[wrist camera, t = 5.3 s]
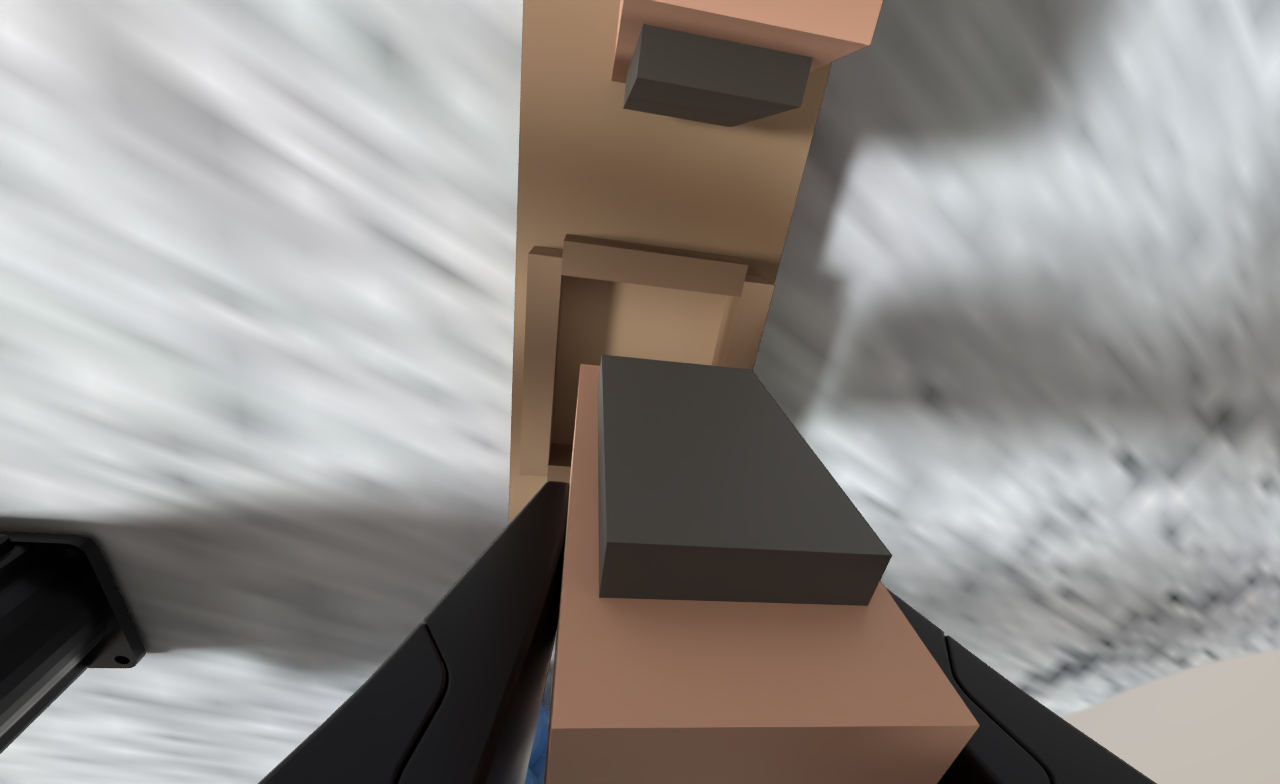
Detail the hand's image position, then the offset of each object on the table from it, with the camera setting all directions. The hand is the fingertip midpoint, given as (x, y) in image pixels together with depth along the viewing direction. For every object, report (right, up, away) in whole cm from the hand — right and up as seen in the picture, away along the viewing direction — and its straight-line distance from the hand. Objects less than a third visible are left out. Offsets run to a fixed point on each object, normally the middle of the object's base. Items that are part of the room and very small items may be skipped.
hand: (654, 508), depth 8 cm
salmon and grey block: (0, +1, +1) cm, 1 cm away
